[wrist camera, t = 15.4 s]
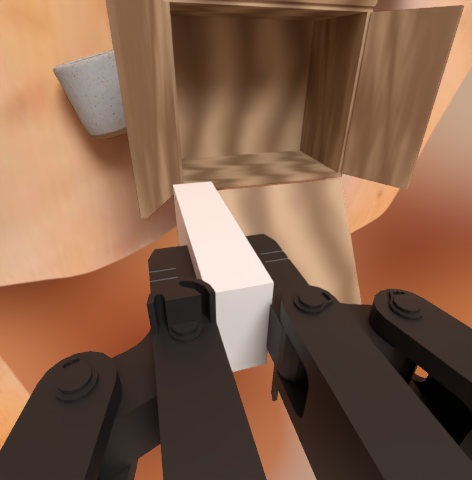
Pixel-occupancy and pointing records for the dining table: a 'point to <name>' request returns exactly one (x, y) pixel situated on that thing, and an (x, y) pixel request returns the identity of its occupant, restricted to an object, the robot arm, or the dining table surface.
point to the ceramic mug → (94, 93)
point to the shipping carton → (275, 90)
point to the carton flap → (303, 229)
